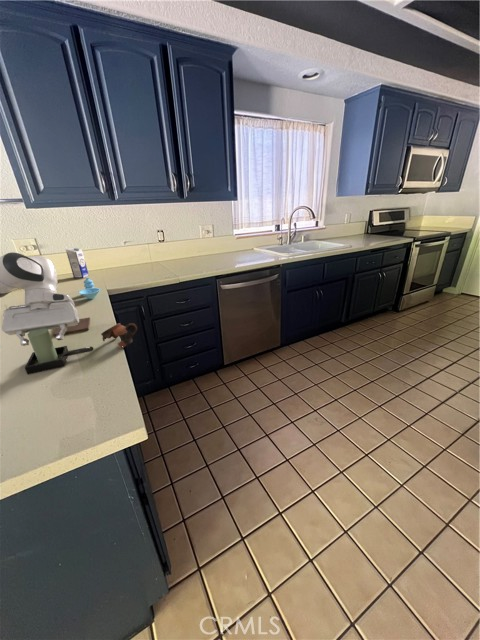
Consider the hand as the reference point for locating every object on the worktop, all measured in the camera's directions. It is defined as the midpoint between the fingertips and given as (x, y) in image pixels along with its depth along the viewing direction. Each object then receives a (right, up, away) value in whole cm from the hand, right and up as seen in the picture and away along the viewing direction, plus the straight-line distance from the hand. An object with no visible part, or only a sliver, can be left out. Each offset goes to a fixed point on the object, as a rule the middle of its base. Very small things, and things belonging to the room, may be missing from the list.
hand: (42, 342), depth 82 cm
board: (-7, +4, +27) cm, 28 cm away
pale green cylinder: (0, -7, +3) cm, 7 cm away
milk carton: (-49, +37, +102) cm, 119 cm away
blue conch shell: (-20, +20, +63) cm, 69 cm away
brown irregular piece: (+19, -1, +14) cm, 23 cm away
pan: (+4, -6, +4) cm, 8 cm away
